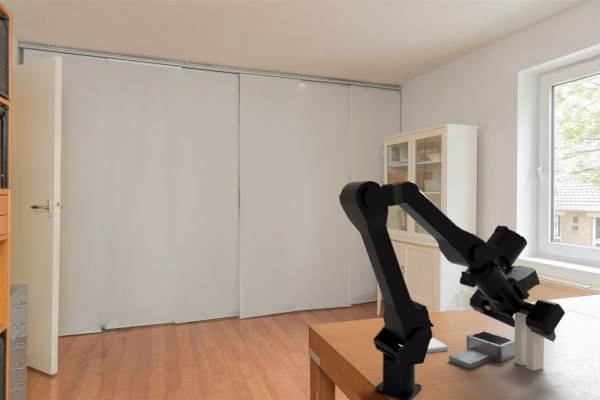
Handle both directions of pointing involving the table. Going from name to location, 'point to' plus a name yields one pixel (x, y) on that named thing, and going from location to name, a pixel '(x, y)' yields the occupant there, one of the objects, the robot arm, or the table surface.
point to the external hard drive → (435, 346)
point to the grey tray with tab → (484, 350)
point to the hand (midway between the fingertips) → (533, 332)
